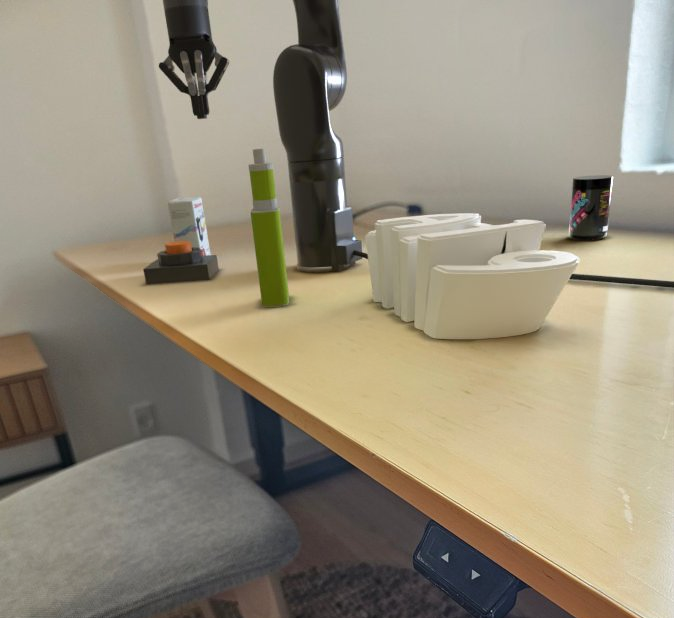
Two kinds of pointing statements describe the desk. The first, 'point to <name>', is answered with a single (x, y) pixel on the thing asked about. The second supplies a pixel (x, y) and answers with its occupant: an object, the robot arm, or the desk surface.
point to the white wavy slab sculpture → (466, 274)
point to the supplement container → (590, 207)
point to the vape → (267, 233)
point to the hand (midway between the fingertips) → (202, 118)
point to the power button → (178, 247)
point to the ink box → (189, 222)
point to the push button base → (181, 267)
